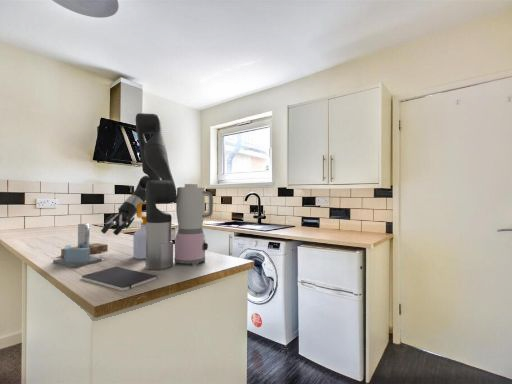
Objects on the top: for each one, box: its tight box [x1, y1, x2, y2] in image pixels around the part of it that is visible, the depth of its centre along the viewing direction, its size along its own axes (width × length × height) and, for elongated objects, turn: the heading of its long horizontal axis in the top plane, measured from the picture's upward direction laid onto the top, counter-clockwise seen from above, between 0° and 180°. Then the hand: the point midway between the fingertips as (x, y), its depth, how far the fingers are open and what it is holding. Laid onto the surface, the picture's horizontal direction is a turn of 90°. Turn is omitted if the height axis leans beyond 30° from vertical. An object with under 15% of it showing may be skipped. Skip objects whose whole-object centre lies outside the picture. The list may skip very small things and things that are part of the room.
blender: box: [173, 183, 214, 267], centre depth 109 cm, size 16×12×32 cm
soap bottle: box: [132, 201, 146, 260], centre depth 117 cm, size 9×9×25 cm
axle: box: [77, 223, 91, 248], centre depth 109 cm, size 4×4×14 cm
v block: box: [52, 244, 103, 268], centre depth 108 cm, size 15×11×6 cm
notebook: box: [81, 266, 159, 291], centre depth 88 cm, size 13×2×21 cm
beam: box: [60, 242, 109, 257], centre depth 122 cm, size 16×8×3 cm, turn 153°
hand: (108, 233), depth 119 cm, fingers open, 8 cm apart
